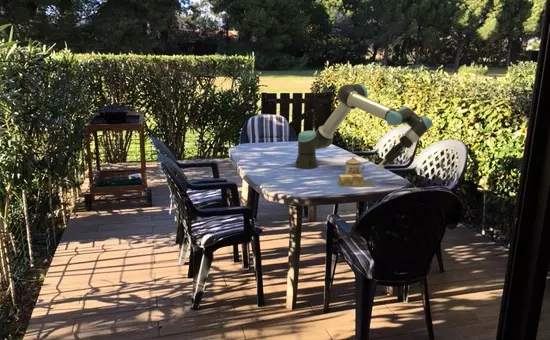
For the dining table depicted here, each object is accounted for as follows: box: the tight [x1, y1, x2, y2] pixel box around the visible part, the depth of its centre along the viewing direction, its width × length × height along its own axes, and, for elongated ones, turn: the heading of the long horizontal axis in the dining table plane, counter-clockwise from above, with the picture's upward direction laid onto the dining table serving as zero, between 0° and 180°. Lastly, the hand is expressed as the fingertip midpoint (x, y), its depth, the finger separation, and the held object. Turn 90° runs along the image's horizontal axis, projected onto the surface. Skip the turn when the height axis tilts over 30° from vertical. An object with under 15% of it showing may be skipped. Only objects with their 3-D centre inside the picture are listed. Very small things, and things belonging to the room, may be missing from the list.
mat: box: [336, 180, 377, 189], centre depth 251 cm, size 20×13×1 cm, turn 96°
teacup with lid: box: [344, 156, 366, 175], centre depth 270 cm, size 12×9×12 cm
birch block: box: [338, 173, 365, 187], centre depth 250 cm, size 5×5×13 cm
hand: (378, 168), depth 250 cm, fingers closed
